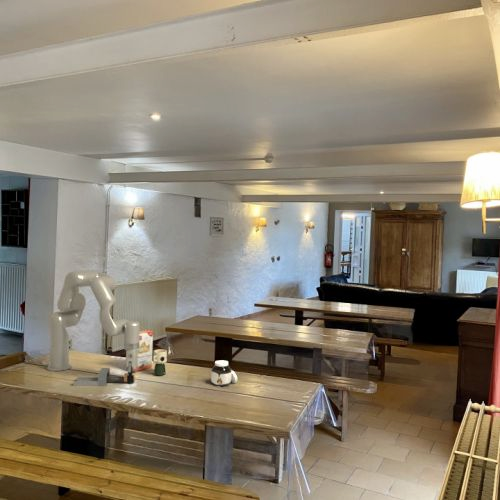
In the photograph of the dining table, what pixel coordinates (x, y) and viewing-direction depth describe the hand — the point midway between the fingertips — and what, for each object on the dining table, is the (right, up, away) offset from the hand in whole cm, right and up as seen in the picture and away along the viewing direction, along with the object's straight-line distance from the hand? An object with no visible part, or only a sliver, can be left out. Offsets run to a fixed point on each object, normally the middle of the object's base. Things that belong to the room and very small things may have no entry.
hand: (131, 381), depth 248 cm
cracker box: (-1, 0, +24) cm, 24 cm away
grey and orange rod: (-6, 0, -1) cm, 6 cm away
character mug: (+12, -1, +14) cm, 19 cm away
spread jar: (+48, -2, +1) cm, 48 cm away
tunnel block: (-19, 0, -2) cm, 20 cm away
